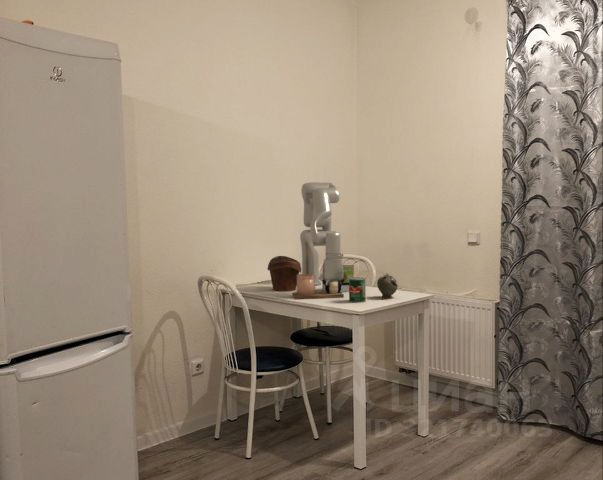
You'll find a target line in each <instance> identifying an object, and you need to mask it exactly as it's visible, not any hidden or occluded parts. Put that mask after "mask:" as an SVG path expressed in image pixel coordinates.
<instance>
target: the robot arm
mask: <svg viewBox="0 0 603 480" xmlns="http://www.w3.org/2000/svg"><path fill="white" fill-rule="evenodd" d="M340 196H341V195H340V192H339V189H338V188H337V187H336V185H334V184H333V183H332V182H315V181H313V182H305V183H303V184H302V185H301V197H302V199H303V226H305V227H306V228H310V229H305V230H302V231H301V232H300V237H299V239H300V244H301V245H300V246H301V274H313V275H315V286H320V285H322V282H323V283H324V284H325V291H326V292H327V293H329V285H328V282H329V279H337V280H338V292H339V293H340V291H341V285H342V283H343V282H344V281H345V280H346V279H347V278H348V277H347V276H346V275H345V273H344V272H343V263H344V262H343V260H342V258H343V257H344V254H342V252H341V233H340V232H337V231H336V230H332V215H333V214H332V213H333V211H332V206H331V204H338V203H339V201H340V198H341V197H340ZM318 228H320V229H318ZM320 246H321V247H325V259H324V260H323V263H322V273H321V274H320V275H319V273H320V271H319V269H320V268H319V267H320V265H319V264H320V263H319V258H320V257H319V256H320V255H319V252H318V250H317V249H316V248H315V247H320ZM343 276H344V278H343ZM322 278H325V279H326V280H323V279H322ZM342 278H343V279H342ZM341 279H342V280H341ZM319 280H320V281H319Z"/></svg>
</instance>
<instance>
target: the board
mask: <svg viewBox="0 0 603 480" xmlns="http://www.w3.org/2000/svg"><path fill="white" fill-rule="evenodd" d="M292 296H293V298H294V299H295V300H314V299H342V298H344V297H345V295H344V293H343V292H340V293H339V292H338V293H337V294H329V293H327V292H326V291H324V290H322V291H315V294H314V295H297V291H296V292H292Z"/></svg>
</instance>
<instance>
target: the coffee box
mask: <svg viewBox="0 0 603 480" xmlns="http://www.w3.org/2000/svg"><path fill="white" fill-rule="evenodd" d="M342 263H343V272H344V273H345V275H346V276H347V277H348V278H347V279H346V280H345V281H344V282H343V283H342V285H341V291H340V292H341V293H349V278H353V277H355V265H354V264H352V263H350V262H342ZM343 278H344V276H343ZM343 278H342V279H343ZM322 279H323V280H326V279H325V278H322ZM342 279H341V280H342ZM329 281H331V279H329ZM336 281H338V280H337V279H336ZM321 286H322V288H321V289H322V291H325V284H324V283H323V282H322V281H321Z"/></svg>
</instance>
